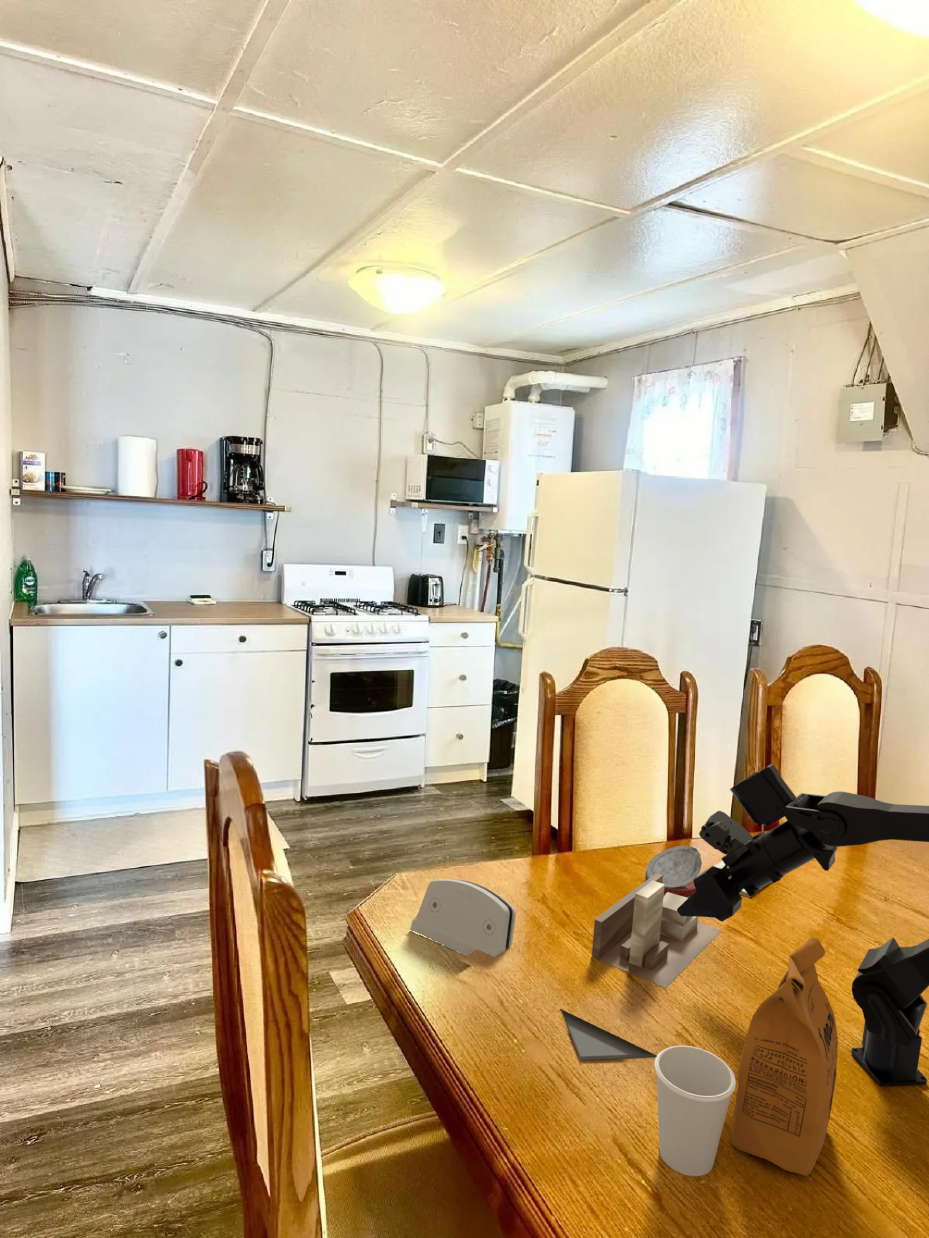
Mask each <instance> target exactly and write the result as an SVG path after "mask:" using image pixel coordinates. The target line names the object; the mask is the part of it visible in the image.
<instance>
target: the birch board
mask: <svg viewBox="0 0 929 1238" xmlns="http://www.w3.org/2000/svg"><path fill="white" fill-rule="evenodd" d="M664 887H665V884H662V883H659V882H656V881H653V880H652V881H651V882H650V883H648V884H647V885H646V886H644V887H643V888H642V889H640V890H639V891H638V892H637V893H635V902H634V913H633V924H632V935H631V946H630V957H629V963H632V964H634V965H636V966H639V967H642V966H643V965H644V964H645V956H646V955H647V954H648V953H649V952H650V951H651V950H652V949H653V948H654V947H655V946H656V945H657V944H659V939H660V928H661V918H662V907H663V897H664V896H665V894H664Z"/></svg>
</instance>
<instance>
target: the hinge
mask: <svg viewBox="0 0 929 1238" xmlns="http://www.w3.org/2000/svg"><path fill="white" fill-rule="evenodd" d="M516 916H517V912H516V909H515V907H514V906H512V904H511V903H509V901H507V899H505V898H503V897H502V896H501V895H499V894H498V893H496V892H494V891H493V890H491V889H489V888H487V887H485V886H482V885H480V884H478V883H474V882H472V881H468V880H463V879H455V878H449V879H447V878H444V879H443V878H442V879H434V880H432V881H430V882H429V883H428V886H427V888H426V891H425V894H424V895H423V898H422V902H421V904H420V907H419V910H418V912H417V915H415V917H414V918H413V920H412V921H411V925H410V930H412V931H415V932H417V933H419V934H422V935H424V936H426V937H427V938H431V939H432V940H433V941H437V942H438V943H439V944H443V945H444V946H446V947H448V948H450V949H449V950H451V949H452V950H451V951H453V950H455V951H458V952H460V953H461V954H460V953H459V954H460V955H463V956H464V955H466V956H465V957H468V956H469V955H471V954H472V953H474V952H475V951H477V950H478V951H479V952H482V953H485V954H487V955H489V956H492V957H493V958H496V957H498V956H500V955H502V954H504V953H505V952H506V948H510V947H511V946H512V944H513V941H514V940H513V939H514V933H515V931H514V930H515V923H516ZM410 930H409V931H410ZM439 944H438V945H439ZM444 946H443V947H444ZM446 947H445V948H446ZM448 948H447V949H448ZM455 951H454V952H455ZM458 952H457V953H458Z"/></svg>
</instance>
